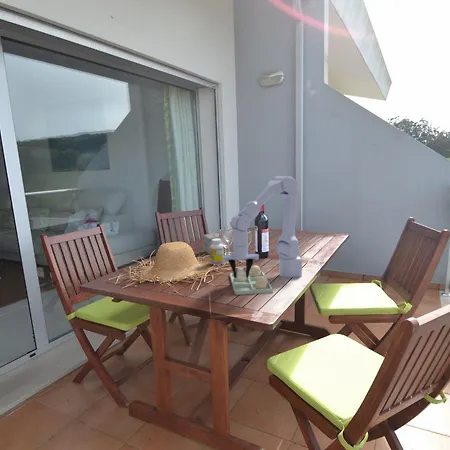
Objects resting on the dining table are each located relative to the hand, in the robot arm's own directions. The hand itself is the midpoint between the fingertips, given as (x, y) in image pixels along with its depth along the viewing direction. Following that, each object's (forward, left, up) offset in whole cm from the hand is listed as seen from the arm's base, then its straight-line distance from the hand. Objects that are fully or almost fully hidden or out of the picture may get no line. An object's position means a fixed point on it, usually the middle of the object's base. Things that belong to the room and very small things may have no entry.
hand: (241, 277), depth 134 cm
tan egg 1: (-7, -7, -3) cm, 10 cm away
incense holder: (+9, -57, -4) cm, 57 cm away
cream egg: (0, 0, -1) cm, 1 cm away
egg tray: (-4, 0, -4) cm, 5 cm away
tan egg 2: (-7, +7, -3) cm, 10 cm away
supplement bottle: (+8, -33, -4) cm, 34 cm away
